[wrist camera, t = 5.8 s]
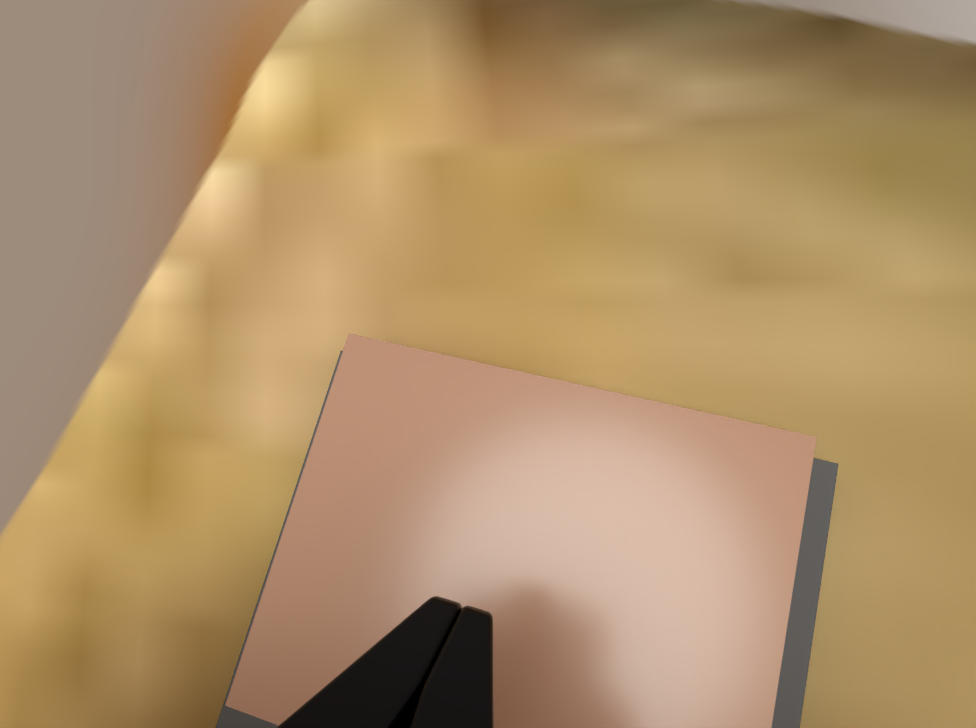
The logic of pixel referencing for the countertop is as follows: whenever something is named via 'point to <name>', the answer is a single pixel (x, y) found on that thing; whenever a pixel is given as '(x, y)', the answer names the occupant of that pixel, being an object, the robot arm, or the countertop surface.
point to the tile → (537, 544)
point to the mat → (802, 613)
